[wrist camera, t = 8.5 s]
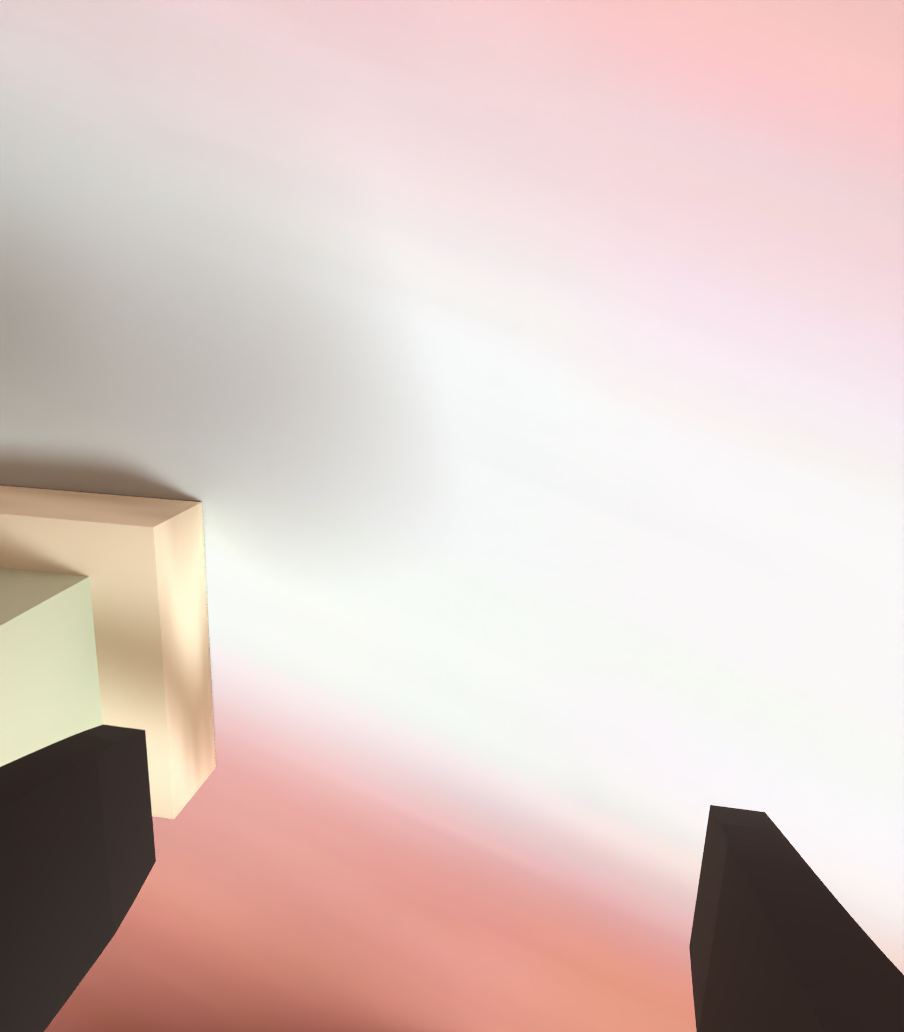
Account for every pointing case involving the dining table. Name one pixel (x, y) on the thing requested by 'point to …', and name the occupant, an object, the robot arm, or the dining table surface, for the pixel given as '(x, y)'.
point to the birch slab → (133, 616)
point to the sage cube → (45, 661)
